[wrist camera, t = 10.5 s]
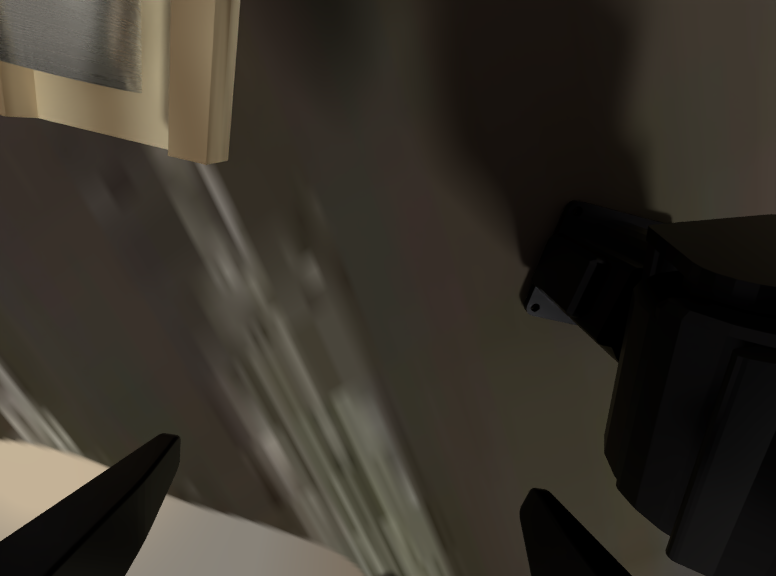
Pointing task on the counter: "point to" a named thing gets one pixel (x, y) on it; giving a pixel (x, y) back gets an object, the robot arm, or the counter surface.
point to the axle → (75, 39)
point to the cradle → (150, 84)
